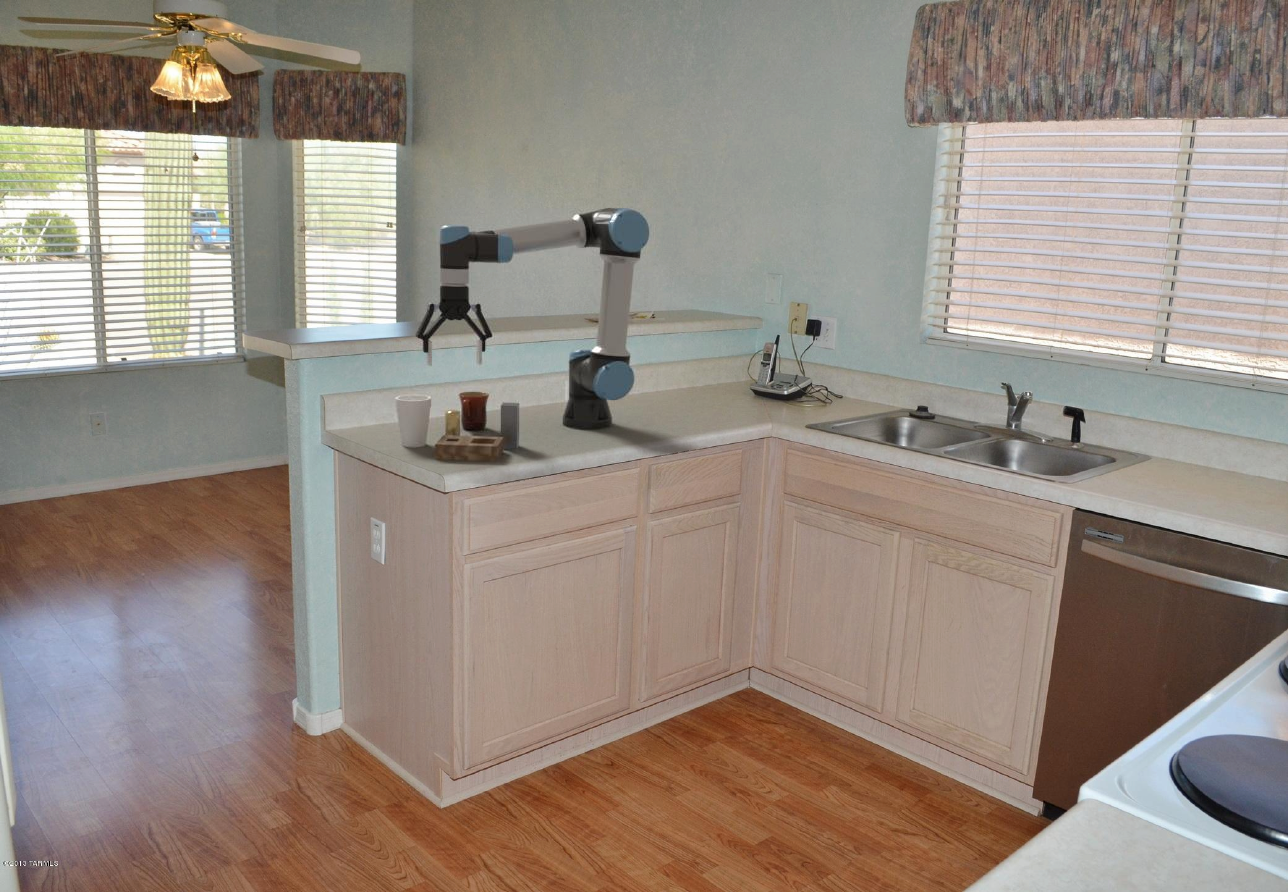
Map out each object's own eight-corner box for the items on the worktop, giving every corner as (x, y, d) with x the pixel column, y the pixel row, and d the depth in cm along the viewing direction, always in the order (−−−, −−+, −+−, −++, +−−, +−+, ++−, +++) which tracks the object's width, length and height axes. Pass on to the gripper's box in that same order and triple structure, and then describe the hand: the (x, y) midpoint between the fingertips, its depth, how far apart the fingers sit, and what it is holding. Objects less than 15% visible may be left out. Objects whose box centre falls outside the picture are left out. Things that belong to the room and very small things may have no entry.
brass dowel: (461, 442, 287) (461, 410, 285) (458, 445, 283) (458, 413, 281) (446, 441, 287) (446, 409, 285) (444, 445, 283) (443, 412, 281)
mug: (465, 424, 310) (465, 390, 308) (493, 426, 308) (493, 392, 306) (450, 432, 299) (449, 397, 296) (478, 434, 297) (478, 399, 295)
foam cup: (399, 440, 286) (398, 394, 283) (433, 441, 287) (432, 395, 284) (394, 448, 277) (393, 400, 274) (429, 449, 278) (428, 401, 275)
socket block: (503, 451, 278) (503, 437, 277) (497, 461, 267) (497, 446, 266) (443, 449, 278) (443, 435, 277) (435, 459, 267) (435, 444, 266)
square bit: (518, 445, 285) (519, 403, 282) (516, 449, 281) (517, 406, 278) (502, 445, 285) (503, 402, 282) (500, 448, 281) (500, 405, 278)
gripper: (496, 284, 283) (495, 361, 287) (404, 283, 273) (405, 363, 277) (504, 286, 276) (503, 365, 281) (409, 285, 266) (410, 367, 271)
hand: (454, 364), depth 279 cm, fingers open, 13 cm apart
